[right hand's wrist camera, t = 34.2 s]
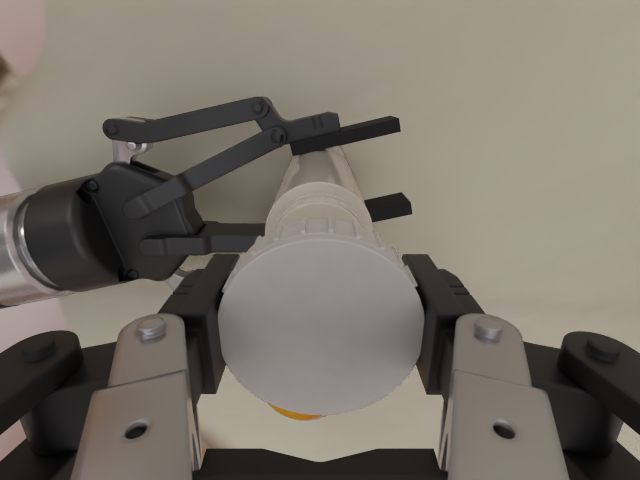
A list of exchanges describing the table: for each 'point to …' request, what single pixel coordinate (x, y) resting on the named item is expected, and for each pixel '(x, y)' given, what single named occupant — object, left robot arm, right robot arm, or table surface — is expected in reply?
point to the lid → (320, 318)
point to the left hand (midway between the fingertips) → (400, 164)
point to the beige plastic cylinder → (318, 191)
